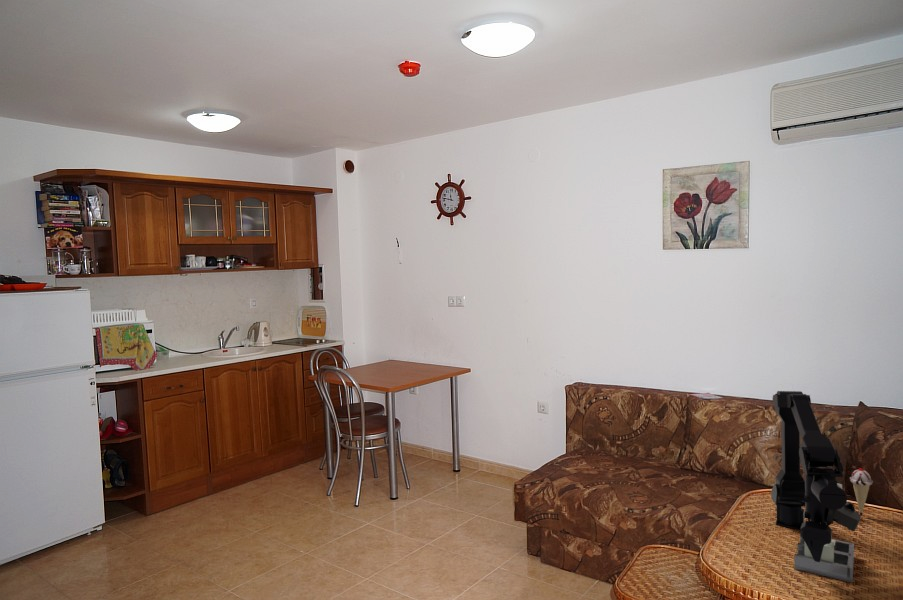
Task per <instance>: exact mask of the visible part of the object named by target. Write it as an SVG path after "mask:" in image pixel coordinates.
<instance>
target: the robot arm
mask: <svg viewBox="0 0 903 600" xmlns="http://www.w3.org/2000/svg"><path fill="white" fill-rule="evenodd" d="M811 399H812V398H811V395H810V394H806V393H803V392H802V391H801V390H800V391H799V390H798V391H797V390H796V391H795V390H793V391H792V390H777V392H776V393H775V394H773V395H772V404H773V407H774V411H775V413H776V414H777V416H778V417H779V419H780V420H781V421H780V422H781V469H780V471H779V472H778V473H777V475H776V476H775V483H774V484H773V486H772V489H771V490H770V495H771V497H770V498H771V500H772V502H773V504H774V505H775V506H776V520H775V525H776V526H780V527H785V528H790V529H795V530H800V533H801V537H802V538H803V539H804V541H805V543H806V545H807V547H808V549H809V551H810V553H811V555H812V557H813V559H814V561H816V562H820V559H821V555H822V551H823V547H824V545H826V544H830V543H831V540H832V539H833V529H832V527H830V526H831V524H832V525H833V524H834V523H836V524H839V525H841V526H843V527H845V528H847V529H848V530H849V531H851V532H855V531H856V529H857V527H858V525H859V523H860V522H861V516H860V511H856V507H855V506H856V505H855V504H854V503H852V502H850V501H848V496H847V493H846V491H845V490H844V489H843V487H842V488H841V487H840V486H839V485H838V484H839V483H838V480H837V479H836V478H843V477H844V476H843V471H844V467H843V462H842V459H841V456H840V454H839V452H838V450H837V448H835V446H834V444H833V442H832V441H831V439H830V438H829V437H827V436H825V435H824V434H823V433H822V431H821V429H820V426H819V423H818V421H817V418H816V415H815V413H814V410H813V407H812V400H811ZM801 466H802V470H803V472H804V477H803V476H802V474H801ZM833 467H834V468H833ZM837 483H838V484H837ZM803 507H804V508H803ZM806 519H807V520H806Z"/></svg>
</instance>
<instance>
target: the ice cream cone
mask: <svg viewBox="0 0 903 600" xmlns="http://www.w3.org/2000/svg"><path fill="white" fill-rule="evenodd" d="M849 482H851V483H852V485H853V490H854V495H855V498H856V503H857V507H858V510H859V511H858V512H859V514H860V517H862V516H863V513H864V512H863V511H864V509H865V504H866V502H867V498H868V493H869V490H870V486H872V485H873V484H874V481H873V479H872V478H871V475H870V474H869V472H868V471H866V470H865V469H863V468H861V467H859V468H858V469H854V470H853V472H851V476H850V477H849Z"/></svg>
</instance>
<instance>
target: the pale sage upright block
mask: <svg viewBox="0 0 903 600" xmlns="http://www.w3.org/2000/svg"><path fill="white" fill-rule="evenodd" d="M805 556H807V557H811V558H813V557H812V555H811V553H810V551H809V549H808V547H807V545H806V543H805ZM820 560H825V561H829V562H834V542H831V543H830V544H826V545H824V547H823V551H822V555H821V559H820Z"/></svg>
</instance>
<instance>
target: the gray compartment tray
mask: <svg viewBox="0 0 903 600" xmlns="http://www.w3.org/2000/svg"><path fill="white" fill-rule="evenodd" d="M831 542H834V562H829V561H825V560H820V562H816V561H814V559H813V558H811V557H807V556H805V541H804V539H803V538H802V537H801V532H800V534H799V542H797V543H796V545H797V546H796V547H797V549H796V550H797V551H796V552H797V553H795V554H794V556H793V557H794V565H793V566H794V570H797V571H801V572H806V573H810V574H813V575H818V576H822V577H827V578H831V579H835V580H839V581H843V582H849V583H853V578H854V577H853V576H854V565H855V543H853V542H847V541H843V540H838V539H833V538H832V540H831Z"/></svg>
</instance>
